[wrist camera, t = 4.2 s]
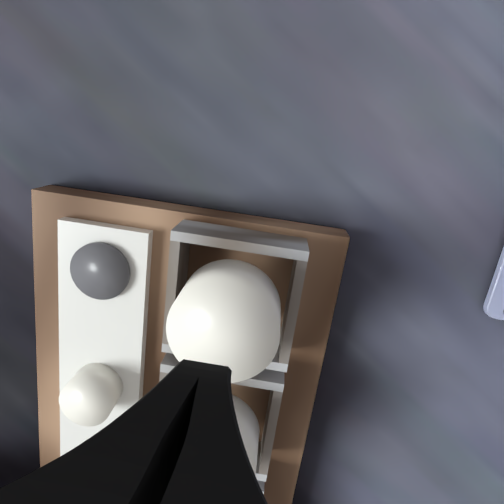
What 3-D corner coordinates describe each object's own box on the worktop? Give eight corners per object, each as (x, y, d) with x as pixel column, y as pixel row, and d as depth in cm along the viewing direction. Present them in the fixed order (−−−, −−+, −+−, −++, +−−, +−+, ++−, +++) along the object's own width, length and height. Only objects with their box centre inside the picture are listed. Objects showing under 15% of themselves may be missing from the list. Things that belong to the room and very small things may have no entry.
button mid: (265, 398, 17) (262, 435, 15) (252, 470, 18) (248, 515, 16) (173, 383, 17) (158, 418, 15) (167, 456, 18) (152, 498, 16)
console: (345, 229, 18) (358, 251, 15) (283, 518, 24) (282, 582, 21) (50, 184, 19) (0, 196, 16) (55, 478, 24) (19, 533, 21)
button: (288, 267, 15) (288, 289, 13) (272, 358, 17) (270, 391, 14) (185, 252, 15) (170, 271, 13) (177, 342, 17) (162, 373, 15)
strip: (153, 230, 18) (136, 243, 16) (135, 503, 22) (121, 540, 20) (64, 216, 18) (36, 227, 16) (66, 491, 23) (45, 526, 21)
